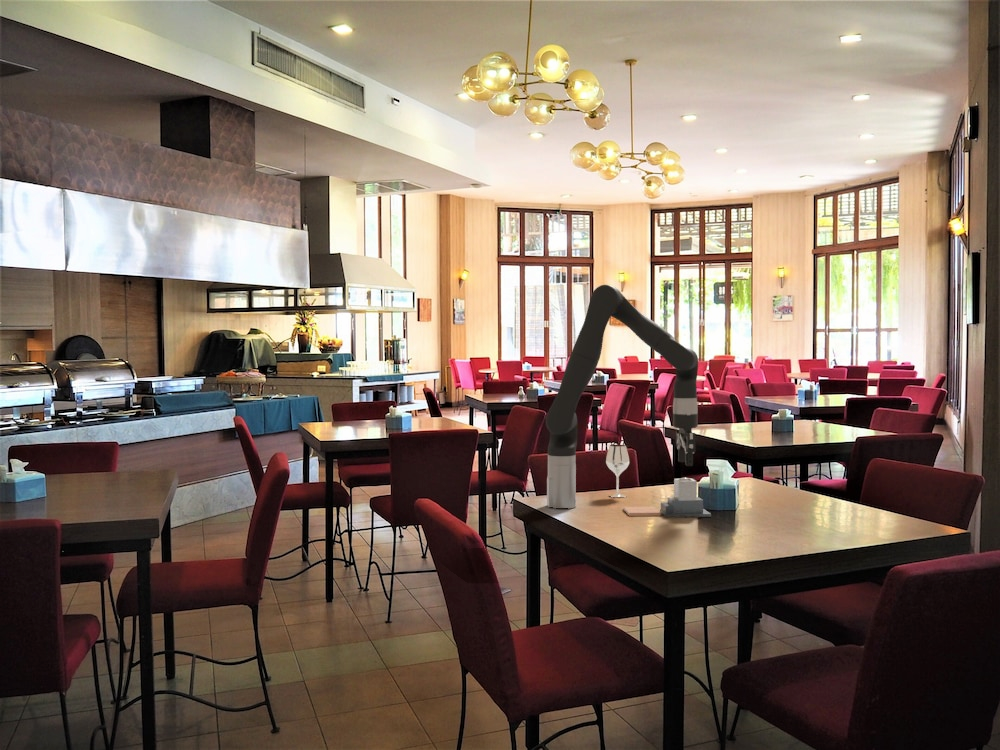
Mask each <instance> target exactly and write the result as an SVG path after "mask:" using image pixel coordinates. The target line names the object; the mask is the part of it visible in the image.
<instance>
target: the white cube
mask: <svg viewBox="0 0 1000 750" xmlns="http://www.w3.org/2000/svg"><path fill="white" fill-rule="evenodd" d="M682 478H683V477H681V478H673V479H674V480H673V483H674V484H673V488H674V489H673V491H674V492H673V498H676V499H677V500H679V501H687V500H697V497H698V496H697V493H698V492H697V490H698V488H697V486H698V485H697V483H698V482H697V480H696V479H695V478H690V477H688V478H689V481H682Z"/></svg>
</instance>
